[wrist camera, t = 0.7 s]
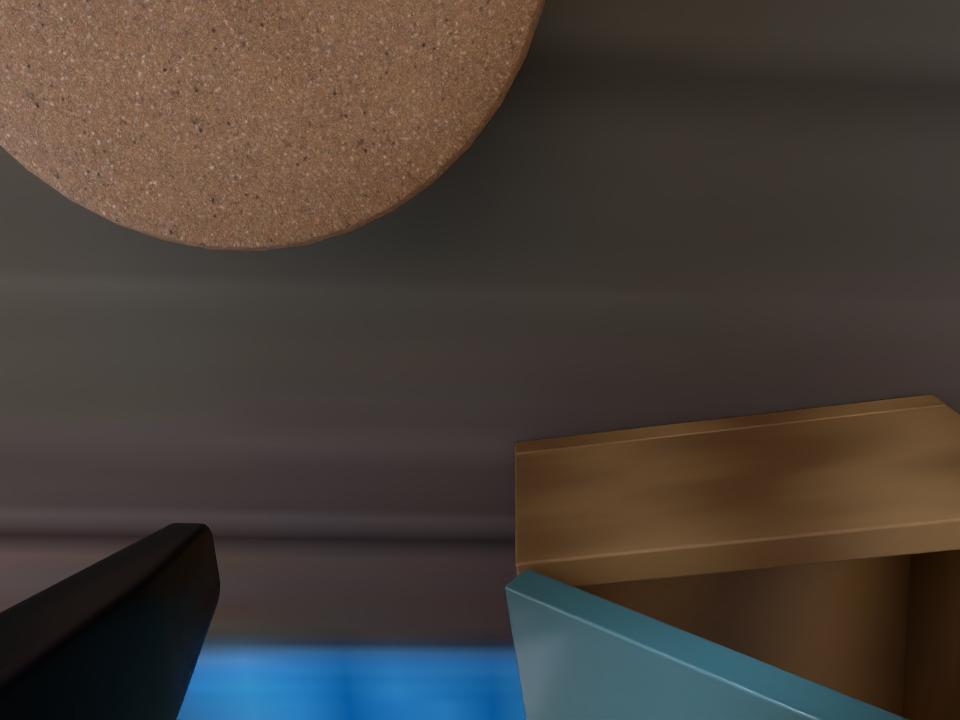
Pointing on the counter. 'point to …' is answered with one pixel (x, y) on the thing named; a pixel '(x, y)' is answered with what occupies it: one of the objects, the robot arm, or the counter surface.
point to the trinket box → (252, 107)
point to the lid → (646, 666)
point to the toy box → (771, 538)
